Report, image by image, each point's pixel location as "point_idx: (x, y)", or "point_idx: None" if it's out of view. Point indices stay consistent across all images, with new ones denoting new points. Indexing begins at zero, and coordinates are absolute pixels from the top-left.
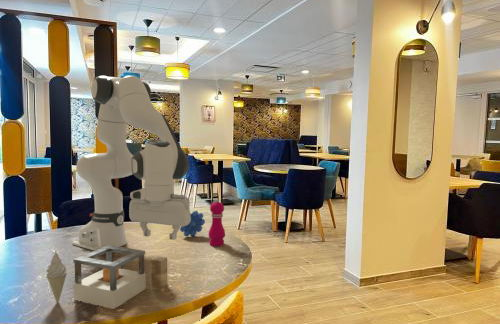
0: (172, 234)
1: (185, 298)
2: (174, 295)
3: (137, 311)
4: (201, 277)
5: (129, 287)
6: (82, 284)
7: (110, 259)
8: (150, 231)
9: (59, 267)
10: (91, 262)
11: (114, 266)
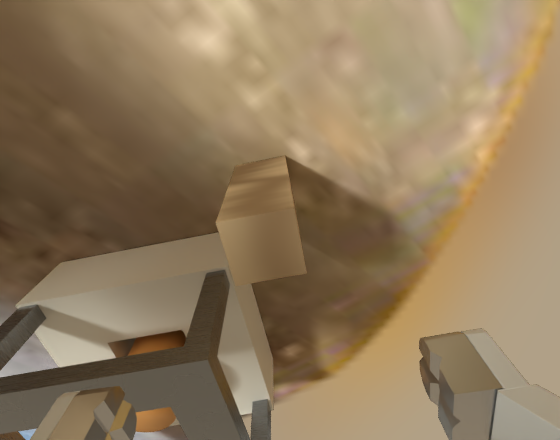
0: (499, 436)
1: (431, 203)
2: (376, 208)
3: (341, 335)
4: None
5: (256, 336)
6: None
7: (10, 343)
8: (91, 428)
9: None
10: None
11: None
